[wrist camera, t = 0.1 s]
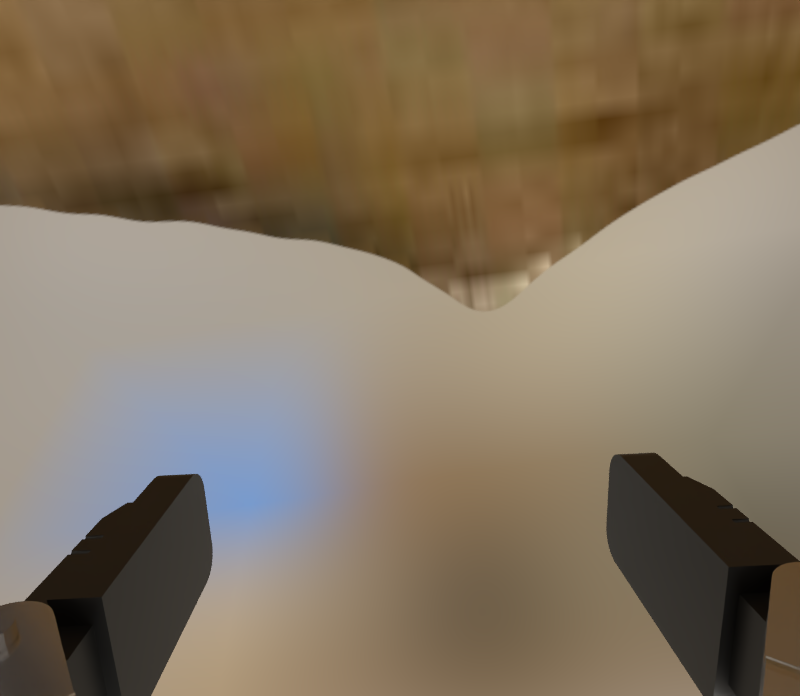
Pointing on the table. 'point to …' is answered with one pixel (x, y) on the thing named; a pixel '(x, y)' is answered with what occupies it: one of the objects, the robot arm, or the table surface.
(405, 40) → the table surface
